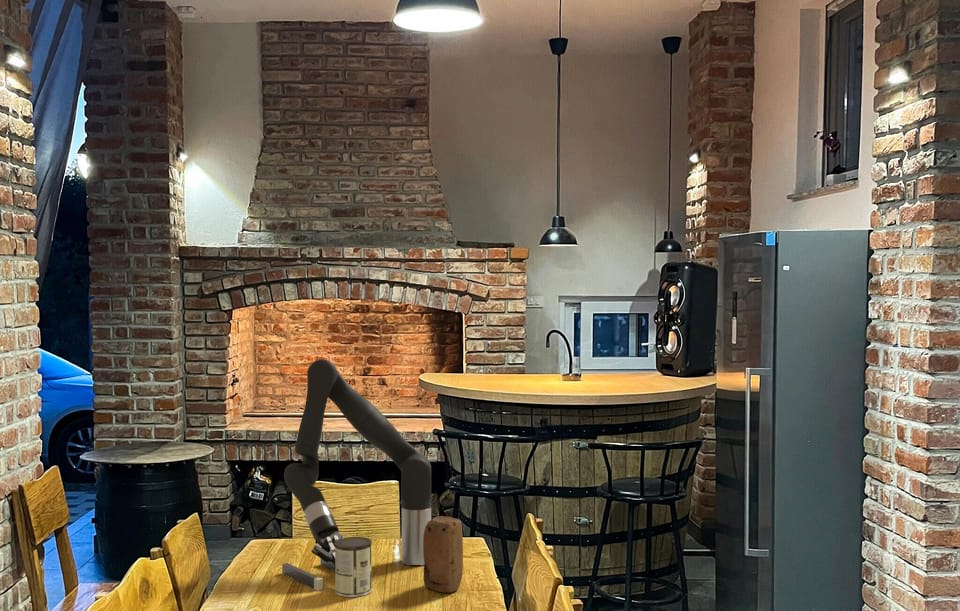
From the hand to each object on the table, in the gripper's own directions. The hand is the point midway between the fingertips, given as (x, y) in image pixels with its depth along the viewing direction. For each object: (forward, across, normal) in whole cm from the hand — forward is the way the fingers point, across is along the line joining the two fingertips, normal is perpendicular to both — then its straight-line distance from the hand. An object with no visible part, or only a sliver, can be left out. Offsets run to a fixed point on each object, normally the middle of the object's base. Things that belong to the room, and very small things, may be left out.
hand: (343, 571), depth 250 cm
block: (+17, +20, -11) cm, 29 cm away
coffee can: (+7, 0, -1) cm, 7 cm away
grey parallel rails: (-5, 0, +11) cm, 13 cm away
